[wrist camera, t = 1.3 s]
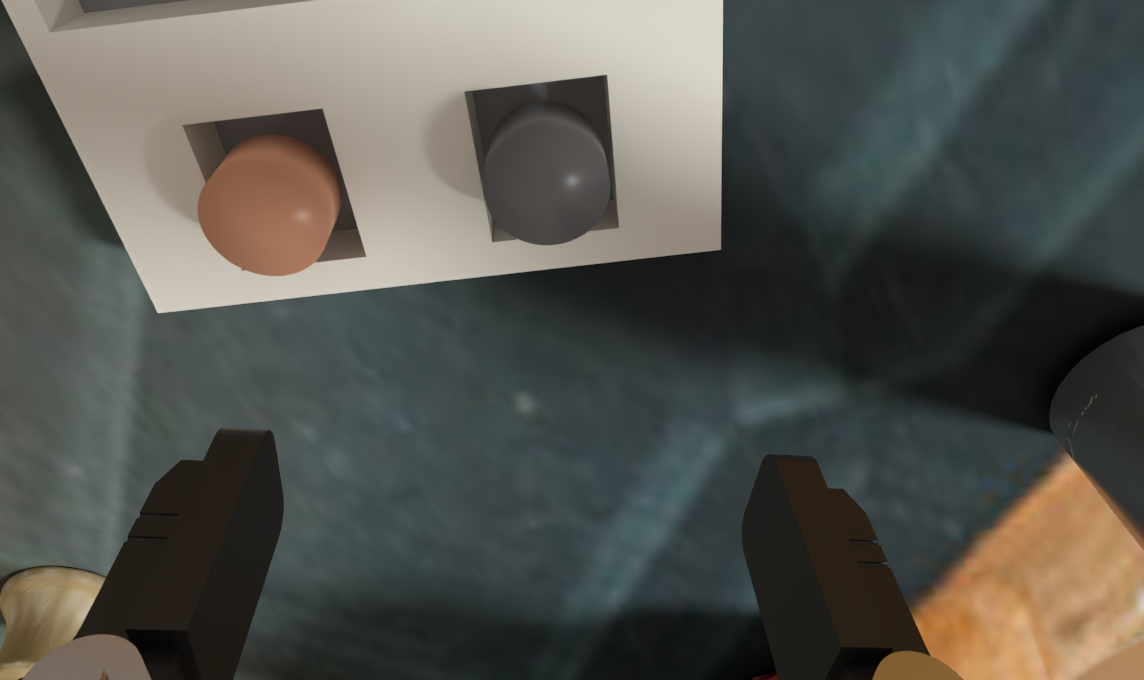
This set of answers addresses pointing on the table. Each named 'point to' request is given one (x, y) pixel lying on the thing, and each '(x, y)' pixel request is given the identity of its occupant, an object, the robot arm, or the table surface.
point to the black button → (546, 174)
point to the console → (382, 125)
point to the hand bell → (43, 614)
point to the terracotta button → (270, 205)
